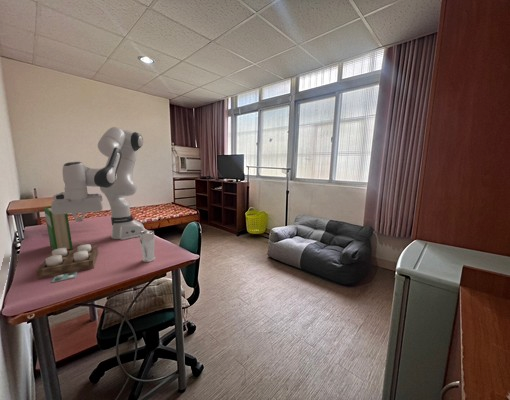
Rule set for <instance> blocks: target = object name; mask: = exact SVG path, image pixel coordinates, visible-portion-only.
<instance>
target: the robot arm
mask: <svg viewBox="0 0 510 400" xmlns="http://www.w3.org/2000/svg"><path fill="white" fill-rule="evenodd" d="M143 144H144V138H143V136H142V134H141V133H139V132H136V131H131V130H125V129H121V128H120V127H116V126H112V127H110V128H108V129H107V130H106V131H105V132H104V133H103V135H102V136H101V137H100V139H99V140H98V143H97V149H98V151H99V152H100V153H101V154H102V155H104V156H105V157H107V160H106V164H105V166H103V167H100V168H91V167H89V166H87V165H85V164H83V162H82V161H81V162H80V161H71V162H70V161H69V162H66V163H64V164H63V165H62V179H63V183H64V191H63V192H60V193H56V194H54V195H53V196H52V199H53V201H51V206H50V207H51V210H52V214H54V215H59V214H67V215H70V214H71V215H72V217H73V218H74V219H75V222H76V223H77V222H84V220H85V219H84V218H85V215H86V213H93V212H102V211H103V210H104V209H103V203H102V202H103V196H102V194H103V195H104V196H105V198H106V199H107V201H108V203H109V206H110V212H111V217H110V222H111V225H112V226H111V227H112V232H111V236H110V237H111V239H113V240H121V241H123V240H129V239H134V238H138V237H139V238H140V232H142V231H147V230H148V229H145V226H144V224H143V223H142V222H140V221H138V220H136V217H135V215H133V214H131V206H130V203H129V202H128V201H127V200H126V198H125V197H130V196H133V195H135V194H136V193H137V189H138V188H137V185H136V183H135V181H134V178H133V174H134V173H133V172H134V168H135V163H136V160H137V159H136V158H137V151H138V150H140V149H141V148H142V146H143ZM88 187H94V188H95V187H96V188H98V187H99V189H100V190H99V191H101V193H102V194H99V193H88ZM77 214H81V215H82V216H81V217H78V216H77Z"/></svg>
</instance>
